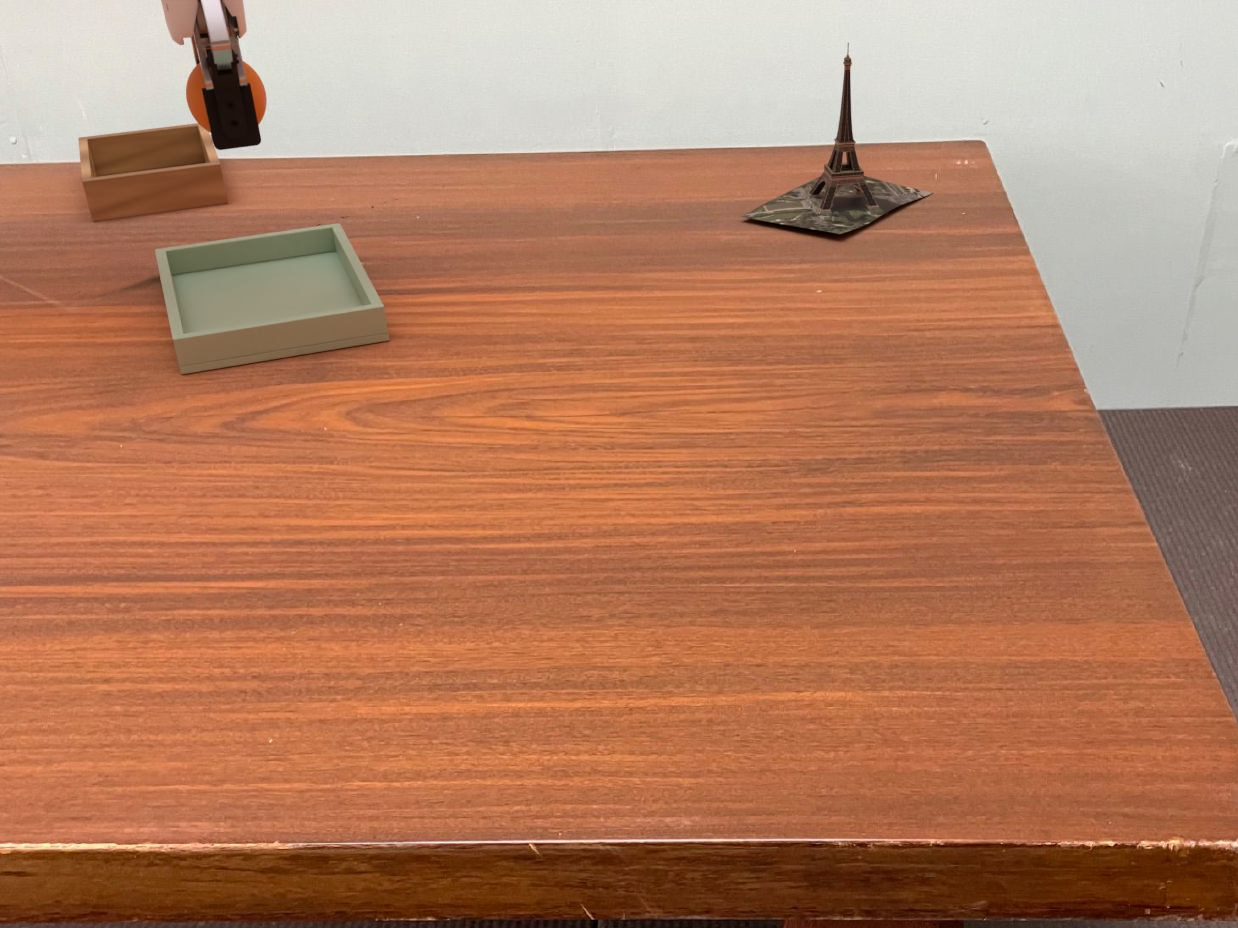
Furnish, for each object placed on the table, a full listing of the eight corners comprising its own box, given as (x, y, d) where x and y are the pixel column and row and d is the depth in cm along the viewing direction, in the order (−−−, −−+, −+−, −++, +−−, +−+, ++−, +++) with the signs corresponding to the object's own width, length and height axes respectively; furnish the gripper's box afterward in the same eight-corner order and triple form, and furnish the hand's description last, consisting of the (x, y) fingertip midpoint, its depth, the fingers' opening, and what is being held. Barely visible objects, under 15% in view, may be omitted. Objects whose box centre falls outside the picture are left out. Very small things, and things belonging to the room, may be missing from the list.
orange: (224, 155, 101) (206, 69, 98) (181, 142, 104) (162, 58, 101) (289, 136, 104) (273, 53, 101) (245, 124, 107) (229, 43, 104)
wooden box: (230, 210, 130) (220, 163, 128) (94, 228, 127) (82, 181, 125) (214, 165, 142) (205, 122, 139) (89, 181, 139) (78, 137, 136)
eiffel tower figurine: (834, 174, 133) (839, 17, 125) (933, 192, 128) (945, 29, 120) (740, 221, 124) (739, 53, 116) (843, 242, 118) (849, 69, 111)
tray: (389, 340, 105) (384, 306, 103) (181, 374, 101) (172, 339, 100) (345, 253, 120) (339, 222, 119) (162, 280, 116) (154, 248, 115)
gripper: (106, -165, 99) (170, 112, 109) (118, -137, 86) (189, 175, 96) (220, -174, 101) (271, 100, 111) (248, -148, 87) (304, 160, 98)
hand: (233, 132), depth 104 cm, fingers closed on orange, 5 cm apart
